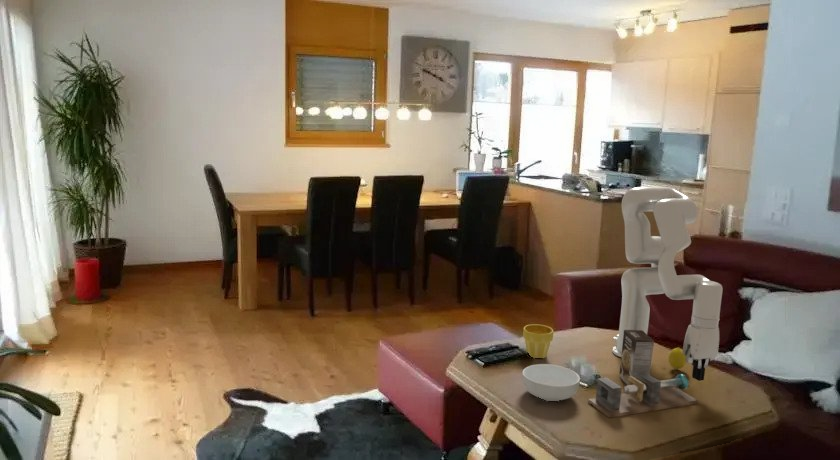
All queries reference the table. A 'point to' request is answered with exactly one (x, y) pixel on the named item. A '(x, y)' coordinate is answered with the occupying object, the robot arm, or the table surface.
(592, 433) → the table surface
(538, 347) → the plant pot
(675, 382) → the shaft
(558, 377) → the cereal bowl
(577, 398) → the table surface
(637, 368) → the coffee box
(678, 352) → the lemon
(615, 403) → the shaft frame
